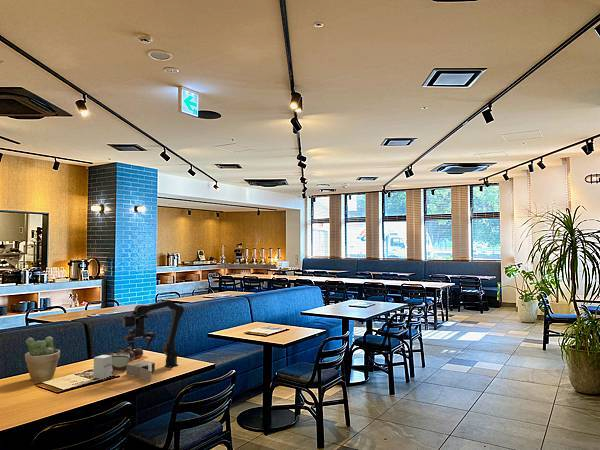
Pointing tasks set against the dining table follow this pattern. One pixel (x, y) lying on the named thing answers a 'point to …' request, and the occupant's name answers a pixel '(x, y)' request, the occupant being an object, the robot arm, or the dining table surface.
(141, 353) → the tray of pastries
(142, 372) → the end flap
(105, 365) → the supplement box
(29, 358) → the potted plant
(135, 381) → the dining table surface
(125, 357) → the food container
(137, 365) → the carton
